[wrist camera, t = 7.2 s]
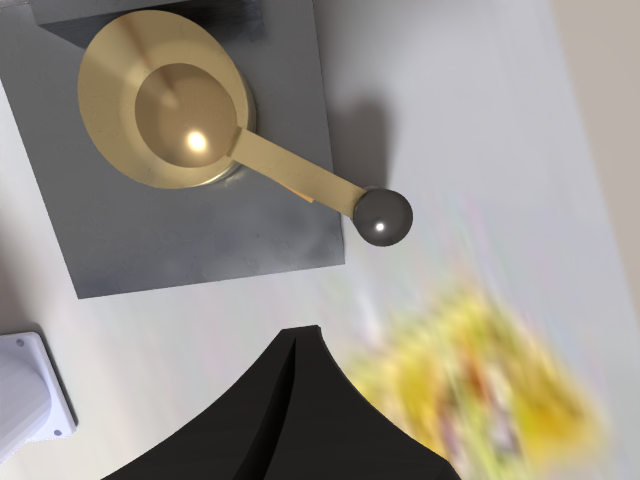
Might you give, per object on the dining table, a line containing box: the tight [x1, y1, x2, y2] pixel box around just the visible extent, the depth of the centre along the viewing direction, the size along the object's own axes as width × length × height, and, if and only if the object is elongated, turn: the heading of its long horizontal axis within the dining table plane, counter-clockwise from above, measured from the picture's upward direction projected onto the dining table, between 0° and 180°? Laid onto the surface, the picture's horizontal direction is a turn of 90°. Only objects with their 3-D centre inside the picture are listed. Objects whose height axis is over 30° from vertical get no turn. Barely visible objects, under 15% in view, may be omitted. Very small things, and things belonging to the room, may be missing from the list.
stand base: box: [0, 0, 345, 299], centre depth 15 cm, size 16×16×3 cm
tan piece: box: [77, 10, 413, 247], centre depth 13 cm, size 15×7×4 cm, turn 64°
